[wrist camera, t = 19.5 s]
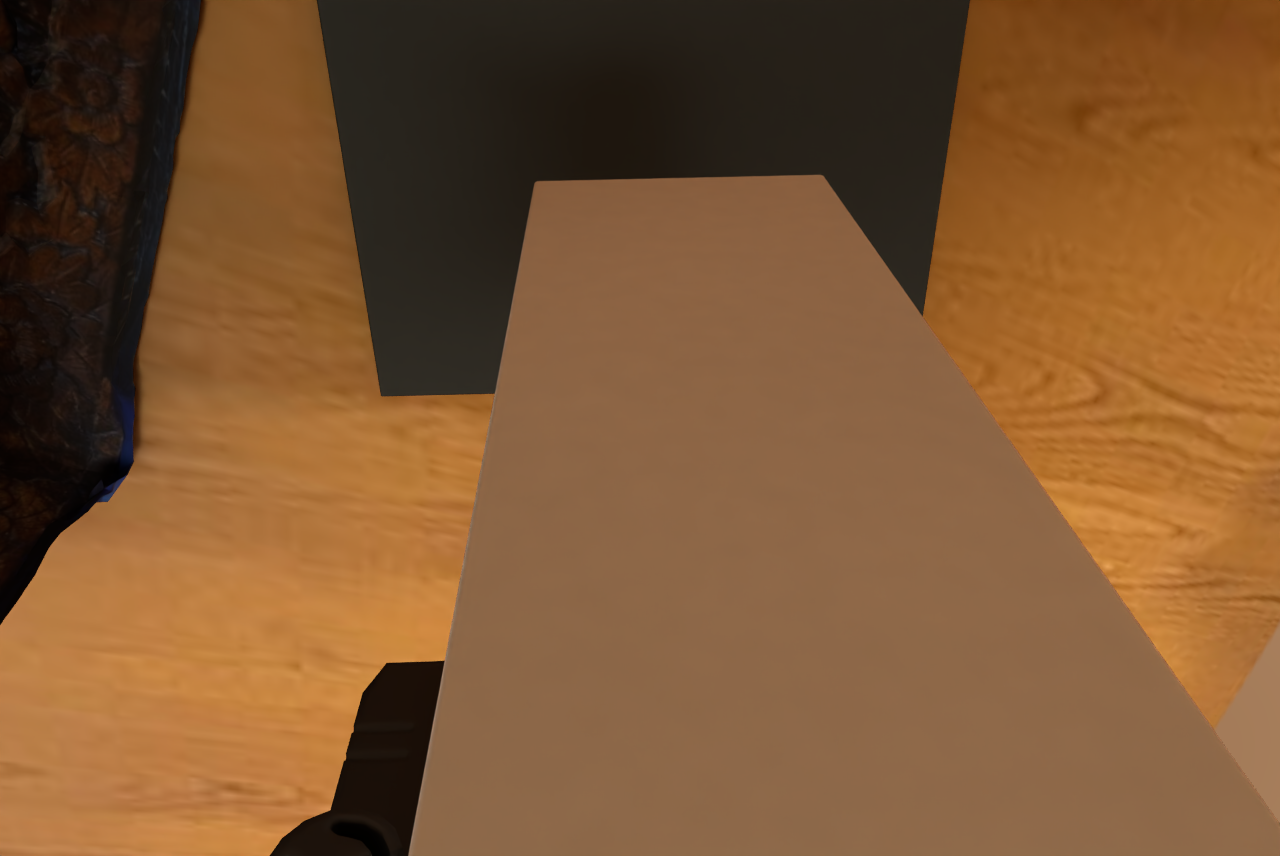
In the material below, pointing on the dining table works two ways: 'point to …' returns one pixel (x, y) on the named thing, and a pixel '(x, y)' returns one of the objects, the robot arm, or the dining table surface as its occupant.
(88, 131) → the decorative box
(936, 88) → the mat
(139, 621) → the dining table surface
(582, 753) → the packet
